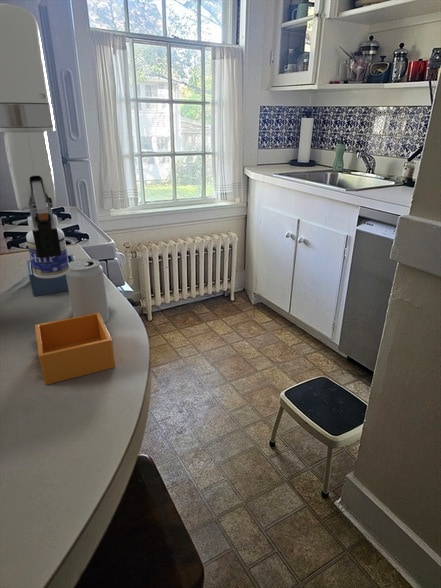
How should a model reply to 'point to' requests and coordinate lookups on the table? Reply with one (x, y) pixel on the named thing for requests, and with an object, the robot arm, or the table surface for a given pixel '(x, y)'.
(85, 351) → the amber bin
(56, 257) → the pill bottle
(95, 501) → the table surface
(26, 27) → the robot arm
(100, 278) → the beverage can
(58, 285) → the slate bin
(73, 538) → the table surface
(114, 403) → the table surface
